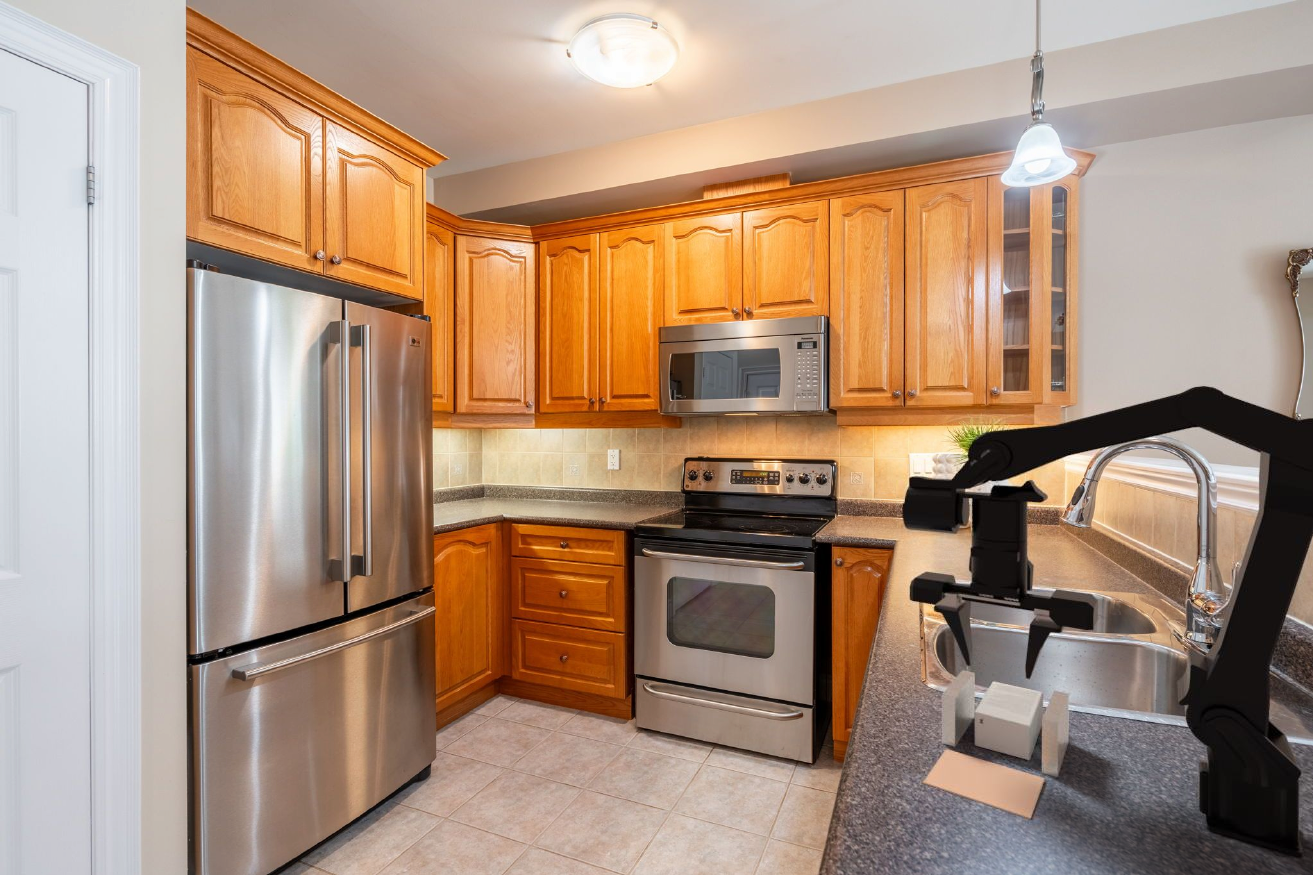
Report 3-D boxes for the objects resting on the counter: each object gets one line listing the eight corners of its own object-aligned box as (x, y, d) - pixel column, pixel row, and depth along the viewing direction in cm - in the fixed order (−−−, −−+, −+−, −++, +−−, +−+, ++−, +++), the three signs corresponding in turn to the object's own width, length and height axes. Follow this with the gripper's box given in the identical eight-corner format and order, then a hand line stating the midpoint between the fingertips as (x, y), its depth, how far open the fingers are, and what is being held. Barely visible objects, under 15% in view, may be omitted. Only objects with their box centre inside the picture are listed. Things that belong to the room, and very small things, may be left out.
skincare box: (992, 711, 85) (972, 745, 76) (992, 680, 85) (972, 710, 76) (1044, 724, 82) (1030, 762, 72) (1045, 691, 82) (1030, 725, 72)
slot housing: (1068, 742, 77) (1068, 693, 77) (1057, 777, 69) (1057, 722, 69) (962, 714, 84) (962, 670, 84) (941, 743, 77) (941, 694, 77)
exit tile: (1044, 781, 68) (1044, 778, 68) (1030, 821, 61) (1030, 817, 61) (946, 752, 74) (946, 748, 74) (923, 785, 67) (923, 781, 67)
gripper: (1102, 537, 74) (1101, 670, 74) (935, 523, 85) (934, 637, 86) (1093, 551, 65) (1092, 701, 65) (908, 533, 77) (907, 660, 77)
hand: (998, 671), depth 73 cm, fingers open, 6 cm apart
